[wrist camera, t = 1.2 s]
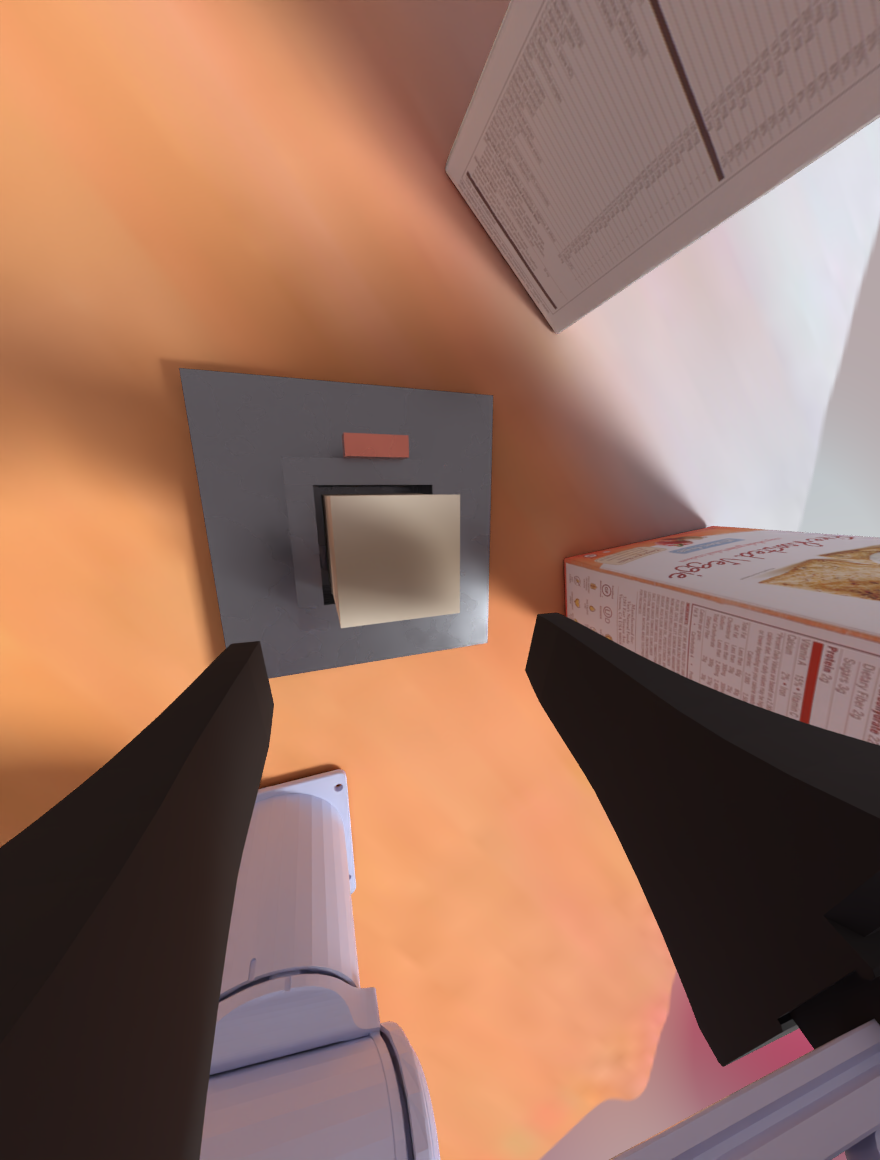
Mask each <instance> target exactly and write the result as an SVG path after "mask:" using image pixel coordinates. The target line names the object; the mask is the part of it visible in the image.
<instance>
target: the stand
mask: <svg viewBox="0 0 880 1160" xmlns="http://www.w3.org/2000/svg"><path fill="white" fill-rule="evenodd" d="M179 370H180V376H181V382H182V388H183V394H184V400H185V406H186V412H187V418H188V424H189V430H190V436H191V442H192V448H193V454H194V460H195V466H196V472H197V478H198V484H199V490H200V495H201V501H202V507H203V513H204V519H205V525H206V531H207V537H208V543H209V549H210V555H211V561H212V567H213V573H214V579H215V585H216V591H217V597H218V603H219V609H220V615H221V621H222V627H223V633H224V639H225V645H226V648H227V647H228V646H229V645H230V644H233V643H243V642H254V641H260V643H261V648H262V653H263V657H264V662H265V666H266V671H267V675H268V678H274V677H281V676H287V675H293V674H299V673H305V672H311V671H317V670H323V669H330V668H336V667H342V666H348V665H354V664H360V663H366V662H373V661H379V660H385V659H391V658H397V657H403V656H409V655H416V654H422V653H428V652H434V651H440V650H446V649H452V648H459V647H465V646H471V645H477V644H483V643H487V641H488V597H489V554H490V510H491V466H492V423H493V395H481V394H470V393H458V392H447V391H436V390H424V389H413V388H401V387H390V386H378V385H367V384H355V383H344V382H333V381H321V380H310V379H298V378H287V377H275V376H264V375H252V374H241V373H230V372H218V371H207V370H195V369H184V368H179ZM398 493H422V494H441V495H460V613H455V614H448V615H440V616H432V617H424V618H417V619H409V620H401V621H393V622H386V623H378V624H370V625H363V626H355V627H347V628H341V626H340V622H339V618H338V613H337V609H336V604H335V600H334V596H333V594H332V593H331V588H330V584H329V576H328V564H327V553H326V541H325V530H324V519H323V507H322V496H321V494H398Z"/></svg>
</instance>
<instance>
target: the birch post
mask: <svg viewBox="0 0 880 1160" xmlns="http://www.w3.org/2000/svg"><path fill="white" fill-rule="evenodd" d="M321 496H322V507H323V519H324V530H325V541H326V553H327V564H328V576H329V584H330V588H331V593H332V594H333V596H334V600H335V604H336V609H337V613H338V618H339V622H340V626H341V628H347V627H355V626H363V625H370V624H378V623H386V622H393V621H401V620H409V619H417V618H424V617H432V616H440V615H448V614H455V613H460V495H441V494H422V493H398V494H321Z"/></svg>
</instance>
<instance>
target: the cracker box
mask: <svg viewBox="0 0 880 1160" xmlns="http://www.w3.org/2000/svg"><path fill="white" fill-rule="evenodd" d="M564 573H565V608H566V617H568V618H570V619H572V620H574V621H576V622H578V623H580V624H582V625H584V626H586V627H588V628H590V629H591V630H593V631H595V632H597V633H599V634H601V635H603V636H605V637H606V638H608V639H610V640H612V641H614V642H616V643H618V644H620V645H621V646H623V647H625V648H627V649H629V650H631V651H633V652H635V653H637V654H639V655H641V656H643V657H645V658H647V659H649V660H651V661H653V662H655V663H657V664H659V665H661V666H663V667H665V668H667V669H669V670H671V671H674V672H676V673H678V674H680V675H682V676H684V677H686V678H689V679H691V680H693V681H695V682H698V683H700V684H702V685H705V686H707V687H710V688H712V689H715V690H717V691H719V692H722V693H724V694H727V695H729V696H732V697H734V698H737V699H739V700H742V701H745V702H747V703H750V704H752V705H755V706H758V707H761V708H764V709H767V710H769V711H772V712H775V713H778V714H781V715H784V716H786V717H789V718H792V719H795V720H798V721H801V722H804V723H807V724H810V725H814V726H817V727H820V728H823V729H826V730H829V731H833V732H836V733H839V734H843V735H846V736H850V737H853V738H856V739H860V740H863V741H867V742H870V743H873V744H877V745H880V538H876V537H863V536H846V535H832V534H818V533H804V532H792V531H777V530H763V529H749V528H735V527H719V526H711V527H707V528H703V529H699V530H693V531H689V532H684V533H680V534H675V535H670V536H666V537H661V538H657V539H652V540H647V541H642V542H638V543H633V544H629V545H624V546H619V547H615V548H610V549H605V550H601V551H596V552H591V553H587V554H582V555H577V556H573V557H568V558H565V559H564Z"/></svg>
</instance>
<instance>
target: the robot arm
mask: <svg viewBox="0 0 880 1160" xmlns="http://www.w3.org/2000/svg"><path fill="white" fill-rule="evenodd" d="M525 671H526V673H527V676H528V678H529V680H530V682H531V685H532V687H533V689H534V691H535V693H536V696H537V698H538V700H539V702H540V703H541V705H542V707H543V708H544V710H545V712H546V713H547V715H548V717H549V718H550V720H551V721H552V723H553V725H554V726H555V728H556V730H557V731H558V733H559V734H560V736H561V737H562V739H563V741H564V742H565V744H566V745H567V747H568V748H569V750H570V752H571V753H572V755H573V756H574V758H575V760H576V761H577V763H578V764H579V766H580V768H581V769H582V771H583V772H584V774H585V775H586V777H587V779H588V781H589V782H590V784H591V786H592V788H593V789H594V791H595V793H596V795H597V797H598V799H599V801H600V802H601V804H602V806H603V808H604V810H605V812H606V814H607V816H608V818H609V820H610V822H611V824H612V826H613V828H614V830H615V832H616V834H617V836H618V838H619V840H620V842H621V844H622V847H623V849H624V851H625V853H626V855H627V857H628V859H629V861H630V863H631V865H632V868H633V870H634V872H635V874H636V876H637V878H638V880H639V883H640V885H641V887H642V889H643V892H644V894H645V896H646V899H647V901H648V903H649V905H650V908H651V910H652V912H653V914H654V917H655V919H656V921H657V923H658V926H659V928H660V930H661V933H662V935H663V937H664V940H665V942H666V945H667V947H668V950H669V952H670V955H671V957H672V960H673V962H674V964H675V967H676V969H677V972H678V974H679V977H680V979H681V982H682V984H683V987H684V989H685V992H686V994H687V997H688V999H689V1002H690V1004H691V1007H692V1010H693V1012H694V1015H695V1018H696V1020H697V1023H698V1026H699V1028H700V1030H701V1032H702V1033H703V1035H704V1037H705V1039H706V1040H707V1042H708V1044H709V1046H710V1047H711V1049H712V1051H713V1053H714V1055H715V1056H716V1058H717V1060H718V1062H719V1063H720V1064H721V1065H722V1066H726V1065H728V1064H730V1063H732V1062H733V1061H735V1060H738V1059H740V1058H741V1057H743V1056H745V1055H747V1054H749V1053H751V1052H753V1051H755V1050H757V1049H759V1048H761V1047H763V1046H765V1045H767V1044H769V1043H771V1042H773V1041H775V1040H777V1039H779V1038H781V1037H783V1036H785V1035H787V1034H789V1033H791V1032H793V1031H795V1030H796V1029H798V1028H800V1030H801V1031H802V1033H803V1034H804V1035H805V1037H806V1038H807V1040H808V1041H809V1042H810V1044H811V1045H812V1047H813V1048H814V1050H813V1051H811V1052H809V1053H807V1054H805V1055H803V1056H801V1057H800V1058H798V1059H796V1060H794V1061H792V1062H790V1063H788V1064H787V1065H785V1066H783V1067H781V1068H779V1069H777V1070H775V1071H774V1072H772V1073H770V1074H768V1075H766V1076H764V1077H762V1078H760V1079H759V1080H757V1081H755V1082H753V1083H751V1084H749V1085H747V1086H745V1087H744V1088H742V1089H740V1090H738V1091H736V1092H734V1093H732V1094H731V1095H729V1096H727V1097H725V1098H723V1099H721V1100H719V1101H718V1102H716V1103H714V1104H712V1105H710V1106H708V1107H706V1108H705V1109H703V1110H701V1111H699V1112H697V1113H695V1114H693V1115H691V1116H689V1117H688V1118H686V1119H684V1120H682V1121H680V1122H678V1123H677V1124H675V1125H673V1126H671V1127H669V1128H667V1129H665V1130H663V1131H662V1132H660V1133H658V1134H656V1135H654V1136H652V1137H650V1138H648V1139H647V1140H645V1141H643V1142H641V1143H639V1144H637V1145H636V1146H634V1147H632V1148H630V1149H628V1150H626V1151H624V1152H622V1153H620V1154H619V1155H617V1156H615V1157H613V1158H611V1159H609V1160H832V1159H833V1158H835V1157H836V1156H838V1155H839V1154H841V1153H842V1152H844V1151H845V1155H846V1158H847V1160H880V745H877V744H873V743H870V742H867V741H863V740H860V739H856V738H853V737H850V736H846V735H843V734H839V733H836V732H833V731H829V730H826V729H823V728H820V727H817V726H814V725H810V724H807V723H804V722H801V721H798V720H795V719H792V718H789V717H786V716H784V715H781V714H778V713H775V712H772V711H769V710H767V709H764V708H761V707H758V706H755V705H752V704H750V703H747V702H745V701H742V700H739V699H737V698H734V697H732V696H729V695H727V694H724V693H722V692H719V691H717V690H715V689H712V688H710V687H707V686H705V685H702V684H700V683H698V682H695V681H693V680H691V679H689V678H686V677H684V676H682V675H680V674H678V673H676V672H674V671H671V670H669V669H667V668H665V667H663V666H661V665H659V664H657V663H655V662H653V661H651V660H649V659H647V658H645V657H643V656H641V655H639V654H637V653H635V652H633V651H631V650H629V649H627V648H625V647H623V646H621V645H620V644H618V643H616V642H614V641H612V640H610V639H608V638H606V637H605V636H603V635H601V634H599V633H597V632H595V631H593V630H591V629H590V628H588V627H586V626H584V625H582V624H580V623H578V622H576V621H574V620H572V619H570V618H568V617H566V616H564V615H561V614H559V613H548V614H538V615H537V619H536V624H535V628H534V633H533V637H532V642H531V646H530V651H529V655H528V660H527V664H526V669H525ZM273 708H274V703H273V698H272V694H271V689H270V685H269V680H268V675H267V671H266V666H265V662H264V657H263V653H262V648H261V643H260V641H254V642H243V643H233V644H230V645H229V646H228V647H227V648H226V649H225V650H224V651H223V652H222V653H221V654H220V655H219V656H218V657H217V658H216V659H215V660H214V661H213V662H212V663H211V664H210V665H209V666H208V667H207V668H206V669H205V670H204V672H203V673H202V674H201V675H200V676H199V677H198V678H197V679H196V680H195V681H194V682H193V683H192V684H191V685H190V686H189V687H188V688H187V689H186V690H185V691H184V692H183V693H182V694H181V695H180V696H179V697H178V698H177V699H176V700H175V701H174V702H173V703H172V704H170V705H169V706H168V707H167V708H166V709H165V710H164V711H163V712H162V713H161V714H160V715H159V716H158V717H157V718H156V719H155V720H154V721H153V722H152V723H151V724H150V725H148V726H147V727H146V728H145V729H144V730H143V731H142V732H141V733H140V734H139V735H137V736H136V737H135V738H134V739H133V740H132V741H131V742H130V743H129V744H128V745H126V746H125V747H124V748H123V749H122V750H121V751H120V752H119V753H118V754H117V755H115V756H114V757H113V758H112V759H111V760H110V761H109V762H107V763H106V764H105V765H104V766H103V767H102V768H100V769H99V770H98V771H97V772H96V773H95V774H93V775H92V776H91V777H90V778H89V779H87V780H86V781H85V782H84V783H83V784H81V785H80V786H79V787H78V788H76V789H75V790H74V791H73V792H71V793H70V794H69V795H68V796H66V797H65V798H64V799H63V800H61V801H60V802H59V803H58V804H56V805H55V806H54V807H53V808H51V809H50V810H49V811H48V812H46V813H45V814H44V815H43V816H41V817H40V818H39V819H38V820H36V821H35V822H34V823H32V824H31V825H30V826H29V827H27V828H26V829H25V830H23V831H22V832H21V833H19V834H18V835H17V836H15V837H14V838H13V839H11V840H10V841H9V842H7V843H6V844H5V845H3V846H2V847H0V1160H440V1153H439V1145H438V1138H437V1131H436V1125H435V1119H434V1113H433V1108H432V1103H431V1098H430V1094H429V1090H428V1086H427V1082H426V1079H425V1075H424V1072H423V1069H422V1066H421V1064H420V1061H419V1059H418V1057H417V1055H416V1053H415V1051H414V1049H413V1048H412V1046H411V1045H410V1043H409V1040H408V1039H407V1037H406V1035H405V1033H404V1031H403V1030H402V1029H401V1027H400V1026H399V1025H398V1024H397V1023H394V1022H391V1021H388V1022H384V1023H380V1019H379V1011H378V1004H377V996H376V989H375V988H374V987H369V988H360V980H359V970H358V960H357V950H356V940H355V930H354V920H353V910H352V900H351V894H352V893H353V892H354V891H355V889H356V880H355V869H354V857H353V846H352V834H351V823H350V812H349V800H348V789H347V778H346V773H345V771H344V770H341V769H337V770H333V771H329V772H325V773H321V774H317V775H313V776H309V777H305V778H301V779H297V780H294V781H290V782H286V783H282V784H278V785H274V786H270V787H266V788H262V789H259V785H260V781H261V777H262V773H263V769H264V764H265V760H266V756H267V752H268V748H269V741H270V734H271V726H272V717H273ZM337 784H342V785H341V786H339V787H336V785H337Z"/></svg>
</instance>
